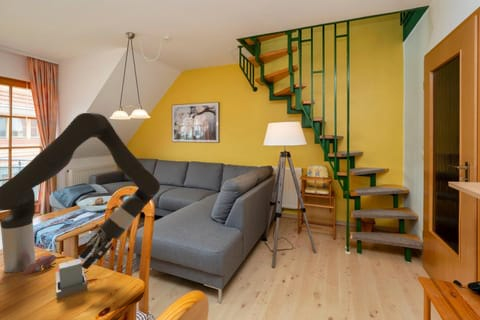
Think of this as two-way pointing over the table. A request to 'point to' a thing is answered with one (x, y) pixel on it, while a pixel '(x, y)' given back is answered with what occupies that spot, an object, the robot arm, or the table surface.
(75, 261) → the block
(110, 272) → the table surface
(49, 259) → the pink curved toy
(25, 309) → the table surface
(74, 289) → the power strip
